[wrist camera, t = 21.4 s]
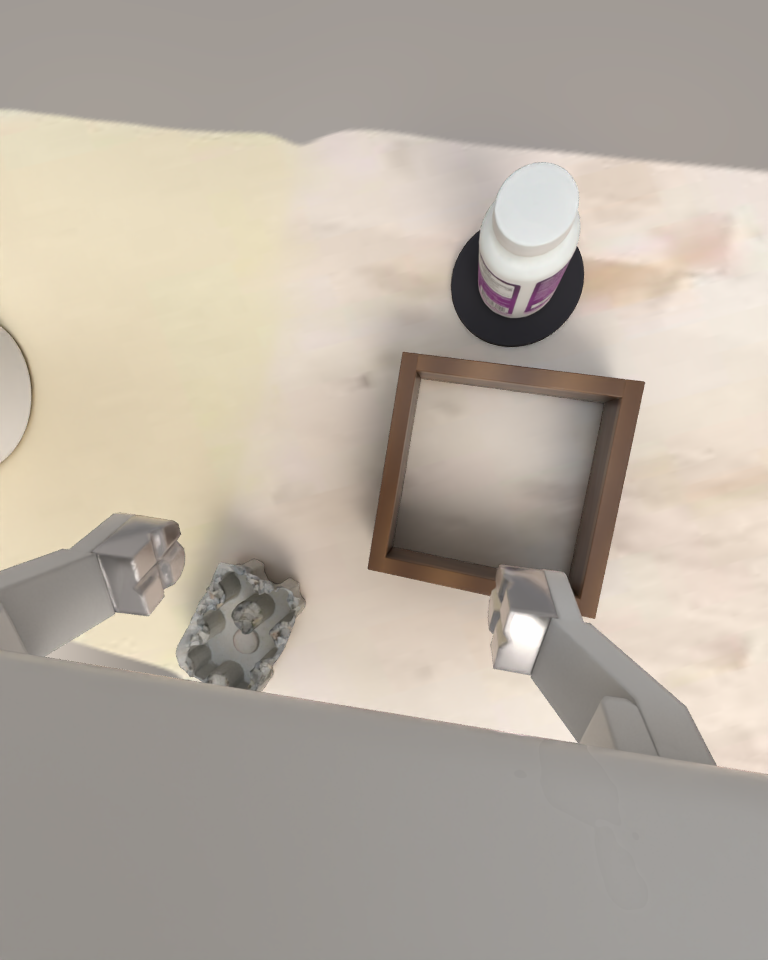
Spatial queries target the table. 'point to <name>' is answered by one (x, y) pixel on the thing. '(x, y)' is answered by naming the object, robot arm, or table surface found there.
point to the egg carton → (240, 627)
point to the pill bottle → (528, 239)
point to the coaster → (504, 328)
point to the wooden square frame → (600, 492)
